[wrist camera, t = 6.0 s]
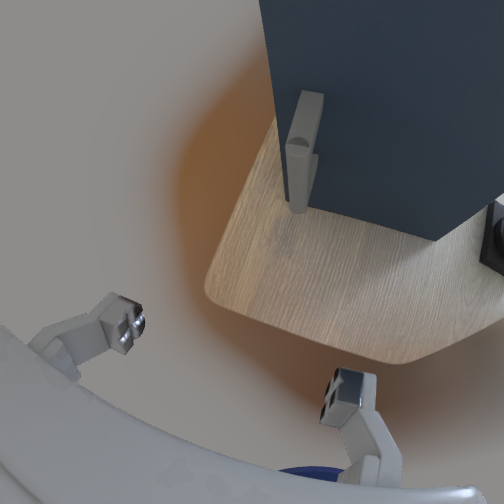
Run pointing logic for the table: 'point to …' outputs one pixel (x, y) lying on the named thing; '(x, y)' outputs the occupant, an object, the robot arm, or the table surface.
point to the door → (389, 108)
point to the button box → (494, 238)
